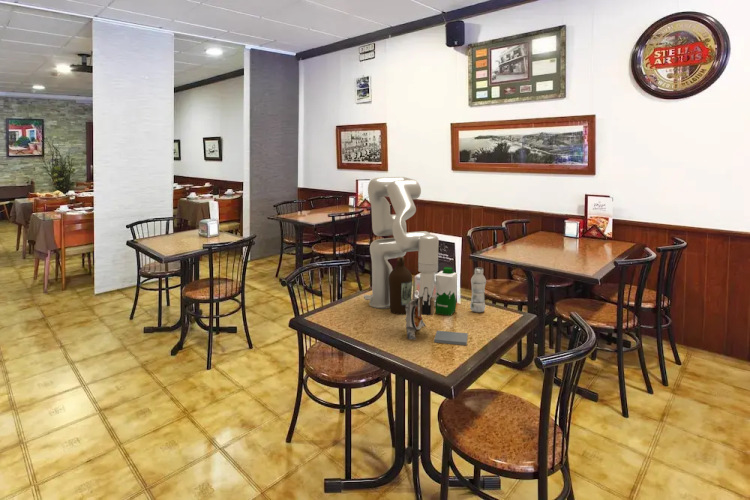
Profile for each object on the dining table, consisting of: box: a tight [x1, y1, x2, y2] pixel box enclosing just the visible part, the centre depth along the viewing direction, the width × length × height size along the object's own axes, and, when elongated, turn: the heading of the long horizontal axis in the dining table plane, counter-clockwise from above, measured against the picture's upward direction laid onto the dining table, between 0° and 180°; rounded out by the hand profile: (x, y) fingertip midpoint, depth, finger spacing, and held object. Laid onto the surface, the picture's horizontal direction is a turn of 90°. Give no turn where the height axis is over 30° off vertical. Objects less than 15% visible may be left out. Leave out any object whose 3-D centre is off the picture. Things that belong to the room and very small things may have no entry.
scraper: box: [417, 295, 436, 316], centre depth 174 cm, size 6×8×7 cm
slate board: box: [433, 330, 469, 346], centre depth 171 cm, size 12×9×1 cm
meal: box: [405, 297, 426, 341], centre depth 176 cm, size 15×4×13 cm, turn 157°
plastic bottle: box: [469, 267, 487, 313], centre depth 199 cm, size 6×7×20 cm
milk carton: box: [434, 266, 458, 317], centre depth 199 cm, size 9×9×20 cm
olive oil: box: [389, 256, 413, 315], centre depth 200 cm, size 11×11×25 cm
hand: (427, 311), depth 174 cm, fingers closed on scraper, 4 cm apart
